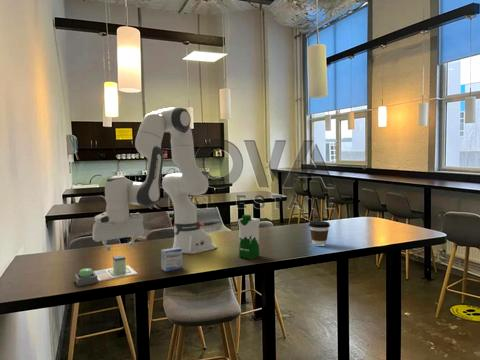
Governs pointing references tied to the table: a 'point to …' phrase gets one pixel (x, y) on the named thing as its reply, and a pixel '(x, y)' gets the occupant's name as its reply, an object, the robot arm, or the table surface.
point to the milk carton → (248, 237)
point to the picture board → (114, 274)
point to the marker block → (119, 264)
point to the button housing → (86, 279)
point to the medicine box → (171, 259)
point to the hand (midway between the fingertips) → (119, 248)
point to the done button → (85, 272)
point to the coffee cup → (319, 232)
